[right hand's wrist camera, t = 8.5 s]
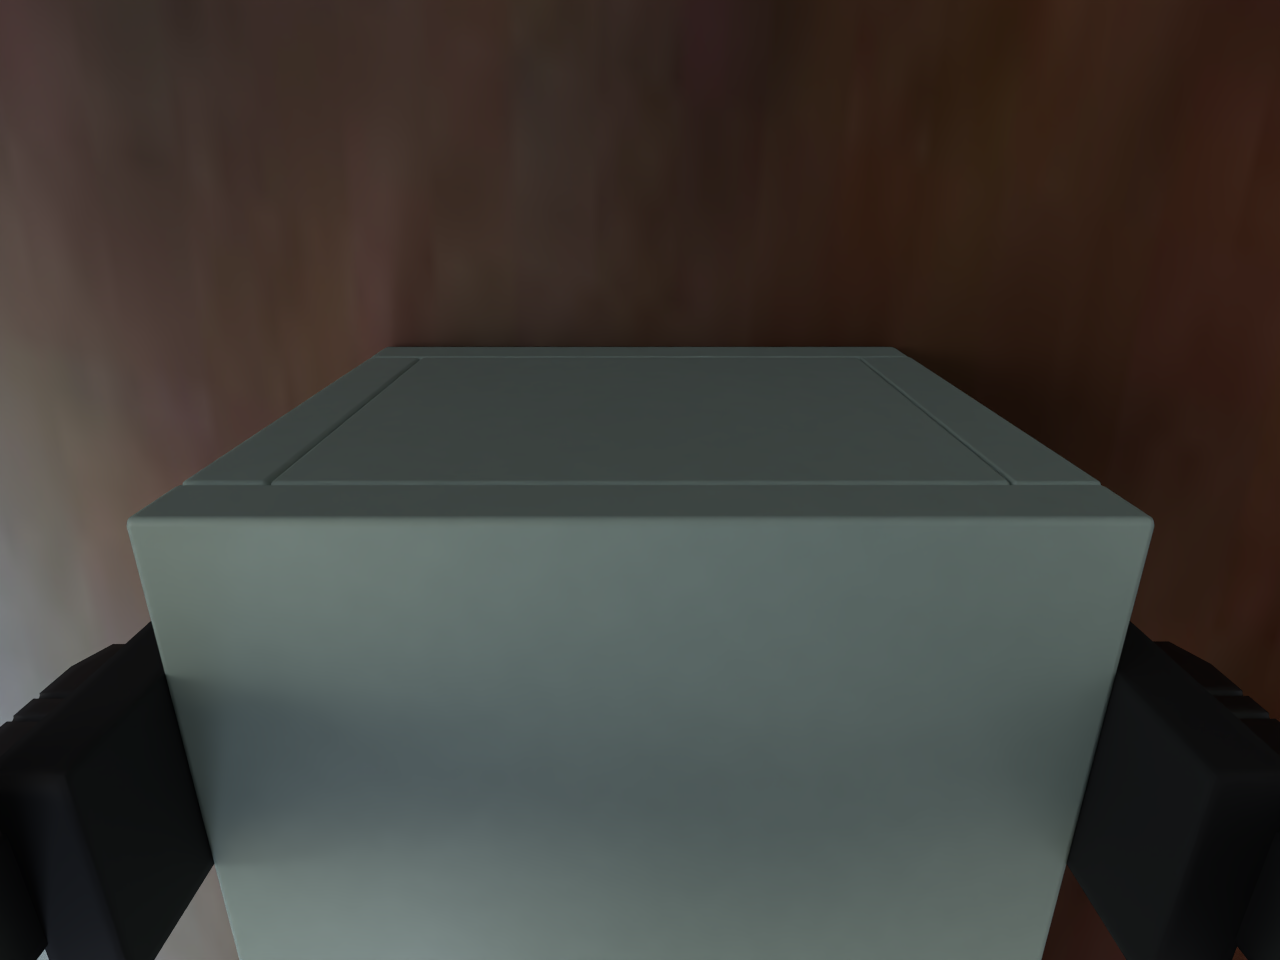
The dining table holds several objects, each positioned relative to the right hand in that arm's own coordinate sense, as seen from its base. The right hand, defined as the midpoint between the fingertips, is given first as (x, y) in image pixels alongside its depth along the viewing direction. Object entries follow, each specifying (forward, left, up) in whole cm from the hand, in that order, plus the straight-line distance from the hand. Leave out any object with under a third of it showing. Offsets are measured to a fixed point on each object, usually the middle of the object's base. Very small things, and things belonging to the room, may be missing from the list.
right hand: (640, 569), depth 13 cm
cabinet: (+6, +4, -3) cm, 8 cm away
